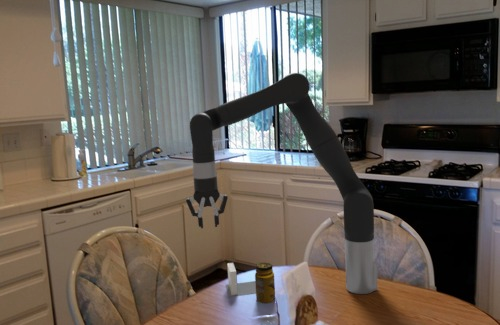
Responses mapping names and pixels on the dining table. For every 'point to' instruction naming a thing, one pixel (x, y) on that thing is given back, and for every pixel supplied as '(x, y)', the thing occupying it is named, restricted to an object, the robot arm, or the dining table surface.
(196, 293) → the dining table surface
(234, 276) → the tile
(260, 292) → the condiment
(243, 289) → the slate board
